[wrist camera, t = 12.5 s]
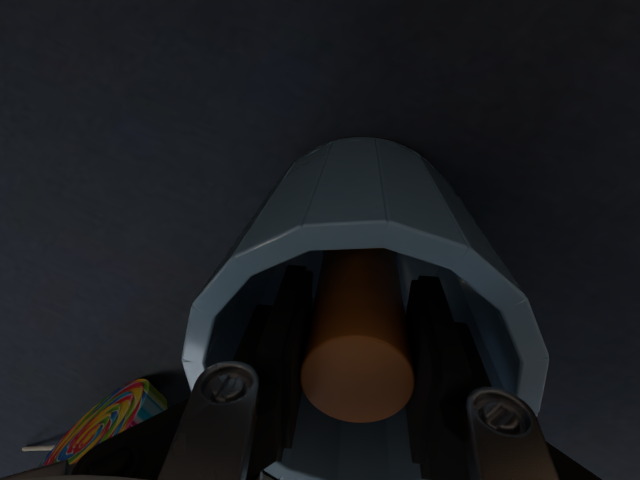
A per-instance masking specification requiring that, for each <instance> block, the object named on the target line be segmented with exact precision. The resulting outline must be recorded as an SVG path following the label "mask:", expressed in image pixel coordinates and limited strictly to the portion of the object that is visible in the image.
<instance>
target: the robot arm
mask: <svg viewBox="0 0 640 480" xmlns="http://www.w3.org/2000/svg"><path fill="white" fill-rule="evenodd" d="M312 279H313V272H312V271H306V266H298V265H288V266H287V268H286V271H285V274H284V277H283V279H282V282H281V285H280V288H279V290H278V293H277V296H276V298H275V301H274V304H273V305H262V304H258V305H257V306H256V307H255V309H254V312H253V314H252V316H251V319H250V321H249V323H248V326H247V328H246V330H245V332H244V335H243V337H242V339H241V342H240V344H239V346H238V349H237V351H236V353H235V355H234V358H233V360H232V361H224V362H221V363H217V364H214V365H212V366H211V367H209V368H207V369H206V370H205V371H203V372H202V373H201V374H200V375H199V377H198V379H197V380H196V382H195V384H194V387H193V389H192V392H191V395H190V397H189V399H187V400H185V401H183V402H181V403H179V404H177V405H175V406H173V407H171V408H169V409H167V410H165V411H163V412H161V413H159V414H157V415H155V416H153V417H151V418H149V419H147V420H145V421H143V422H141V423H139V424H137V425H134V426H132V427H130V428H128V429H126V430H124V431H122V432H120V433H118V434H116V435H114V436H112V437H110V438H108V439H106V440H104V441H102V442H101V443H99V444H97V445H96V446H94V447H93V448H91V449H90V450H89V451H88V452H86V453H85V454H84V455H83V456H82V457H81V458H80V459H79V461H78V462H76V463H73V464H69V463H68V460H67V459H66V460H62V461H59V462H55V463H52V464H48V465H45V466H41V467H38V468H34V469H31V470H27V471H24V472H20V473H17V474H13V475H10V476H6V477H3V478H0V480H262V477H263V470H264V469H265V468H267V467H268V466H270V465H271V464H273V463H274V462H281V460H282V456H283V451H284V448H288V449H291V448H292V444H293V439H294V433H295V428H296V422H297V417H298V412H299V406H300V401H301V395H302V390H303V389H302V387H301V383H300V368H301V363H302V358H303V353H304V348H305V343H306V338H307V333H308V328H309V323H310V318H311V311H312ZM406 322H407V328H408V335H409V341H410V347H411V353H412V359H413V366H414V372H415V388H414V392H413V394H412V396H411V399H410V400H409V401H408V403H407V404H406V405H405V408H406V416H407V425H408V433H409V441H410V450H411V458H412V462H413V463H415V464H420V471H421V478H422V479H425V480H602V479H600V478H599V477H597V476H596V475H594V474H593V473H591V472H590V471H588V470H587V469H585V468H584V467H583V466H581V465H580V464H578V463H577V462H575V461H574V460H572V459H571V458H569V457H568V456H567V455H565V454H564V453H562V452H561V451H559V450H558V449H556V448H555V447H553V446H552V445H550V444H549V443H548V442H546V441H545V438H544V436H543V433H542V430H541V427H540V425H539V422H538V419H537V417H536V415H535V414H534V412H533V410H532V409H531V408H530V407H529V406H528V404H527V403H526V402H525V401H523V400H522V399H521V398H519V397H518V396H516V395H515V394H513V393H511V392H508V391H506V390H504V389H500V388H496V387H492V386H491V383H490V381H489V378H488V376H487V373H486V370H485V368H484V365H483V363H482V360H481V358H480V355H479V352H478V350H477V347H476V345H475V342H474V340H473V337H472V335H471V332H470V329H469V327H468V325H467V324H466V323H463V322H454V319H453V317H452V314H451V311H450V308H449V305H448V302H447V299H446V296H445V293H444V290H443V288H442V285H441V282H440V279H439V277H433V276H421V275H419V277H418V280H412V281H411V285H410V291H409V298H408V304H407V310H406Z"/></svg>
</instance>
